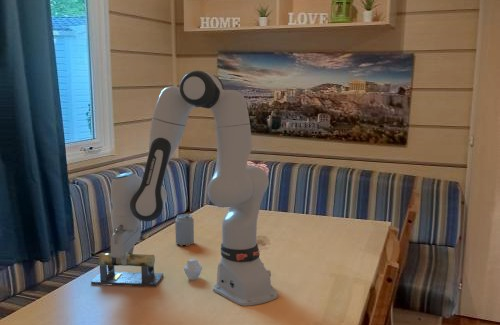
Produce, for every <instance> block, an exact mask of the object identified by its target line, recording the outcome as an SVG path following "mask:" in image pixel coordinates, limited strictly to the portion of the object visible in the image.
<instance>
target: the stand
mask: <svg viewBox="0 0 500 325" xmlns="http://www.w3.org/2000/svg"><path fill="white" fill-rule="evenodd" d="M140 268H141V272H133V271H129V272H128V271H115V270H116V269H115V266H111V265H105V264H101V265H99V273H98V274H97V275H96V276H95V277H94V278H93V279H92V280H91V281H90V285H91V284H112V285H111V286H117V285H132V286H131V287H144V286H154V287H153V288H157V287H156V286H158V285H159V284H158V283H160V282H161V281H162V279H163V278H164V273H161V272H159V273H156V272H155V265H154V266H153V267H148V266H142V267H140ZM162 277H163V278H162ZM161 278H162V279H161ZM160 280H161V281H160Z"/></svg>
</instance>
